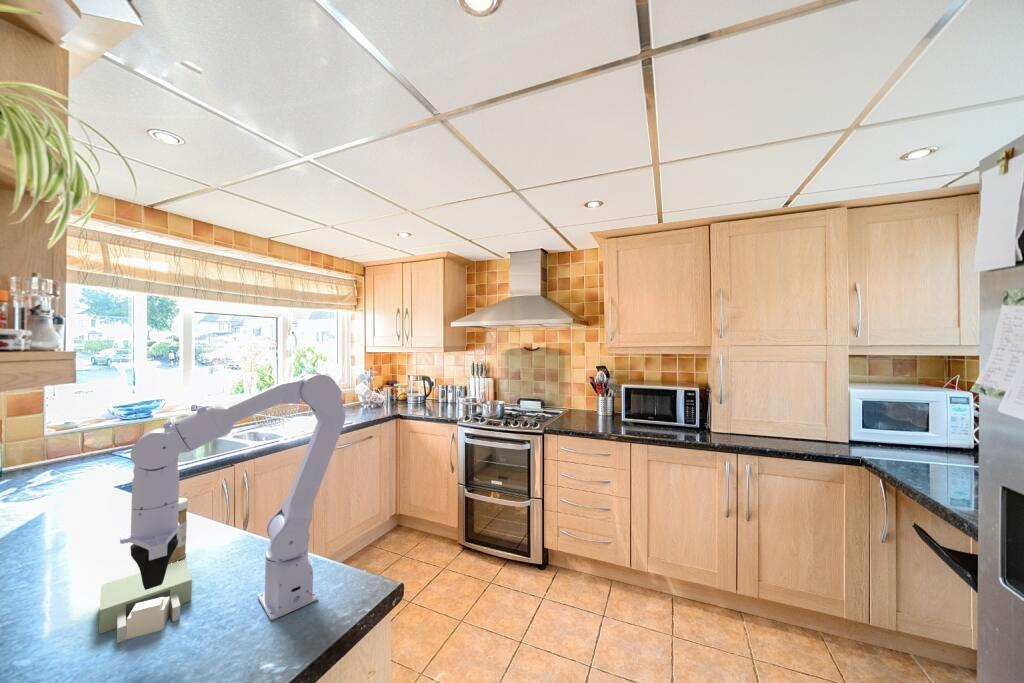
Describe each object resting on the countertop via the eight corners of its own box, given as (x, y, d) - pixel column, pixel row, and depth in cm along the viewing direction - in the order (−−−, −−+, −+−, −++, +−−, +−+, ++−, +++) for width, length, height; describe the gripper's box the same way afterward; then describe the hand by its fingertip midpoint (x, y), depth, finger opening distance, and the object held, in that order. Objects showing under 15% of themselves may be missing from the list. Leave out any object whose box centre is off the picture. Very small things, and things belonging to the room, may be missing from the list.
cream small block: (162, 629, 65) (163, 603, 65) (126, 640, 63) (127, 612, 63) (169, 615, 68) (169, 590, 69) (134, 625, 66) (135, 599, 66)
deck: (195, 613, 69) (195, 591, 69) (98, 650, 60) (98, 625, 60) (184, 578, 79) (185, 559, 79) (100, 606, 71) (101, 584, 71)
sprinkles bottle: (170, 555, 88) (172, 497, 88) (191, 554, 89) (192, 496, 89) (153, 566, 84) (155, 505, 84) (175, 565, 84) (177, 504, 84)
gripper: (120, 497, 64) (118, 577, 64) (121, 525, 55) (118, 619, 54) (175, 486, 70) (173, 560, 69) (185, 510, 60) (183, 596, 59)
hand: (153, 585), depth 62 cm, fingers closed
